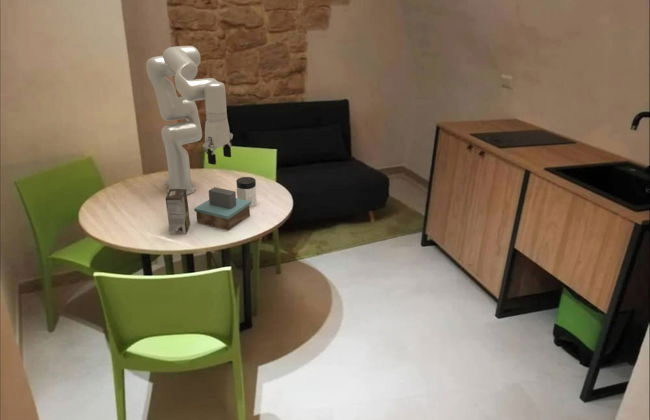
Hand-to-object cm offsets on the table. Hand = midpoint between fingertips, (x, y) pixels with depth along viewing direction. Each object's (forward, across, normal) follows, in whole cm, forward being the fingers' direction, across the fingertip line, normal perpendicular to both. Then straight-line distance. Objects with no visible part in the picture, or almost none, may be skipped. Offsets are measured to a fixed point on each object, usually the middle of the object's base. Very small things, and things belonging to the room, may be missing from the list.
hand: (220, 160), depth 188 cm
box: (+26, 0, 0) cm, 26 cm away
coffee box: (+26, +15, -10) cm, 32 cm away
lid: (+20, 0, 0) cm, 20 cm away
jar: (+26, -17, 0) cm, 31 cm away
